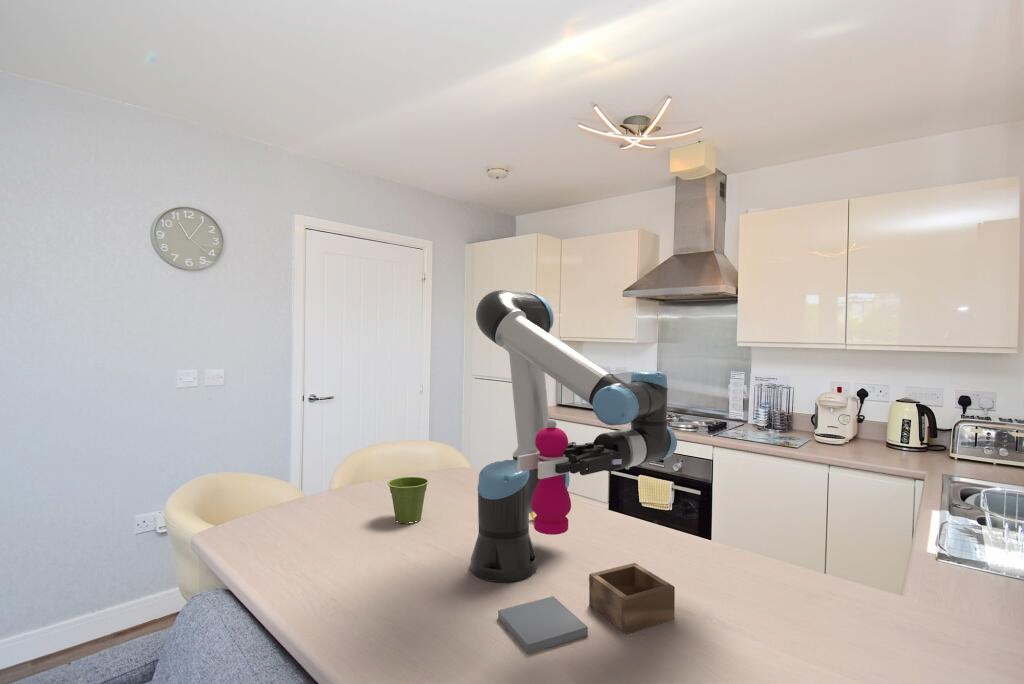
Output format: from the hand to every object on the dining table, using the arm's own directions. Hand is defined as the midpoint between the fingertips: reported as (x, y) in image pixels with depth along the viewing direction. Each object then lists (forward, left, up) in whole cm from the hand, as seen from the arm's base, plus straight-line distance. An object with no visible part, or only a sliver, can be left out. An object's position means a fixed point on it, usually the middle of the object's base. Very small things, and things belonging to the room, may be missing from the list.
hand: (528, 467), depth 89 cm
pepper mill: (-1, +5, -12) cm, 13 cm away
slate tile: (-2, +4, -30) cm, 30 cm away
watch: (-49, +30, -30) cm, 65 cm away
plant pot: (-67, -4, -30) cm, 74 cm away
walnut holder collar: (+1, +22, -30) cm, 37 cm away
